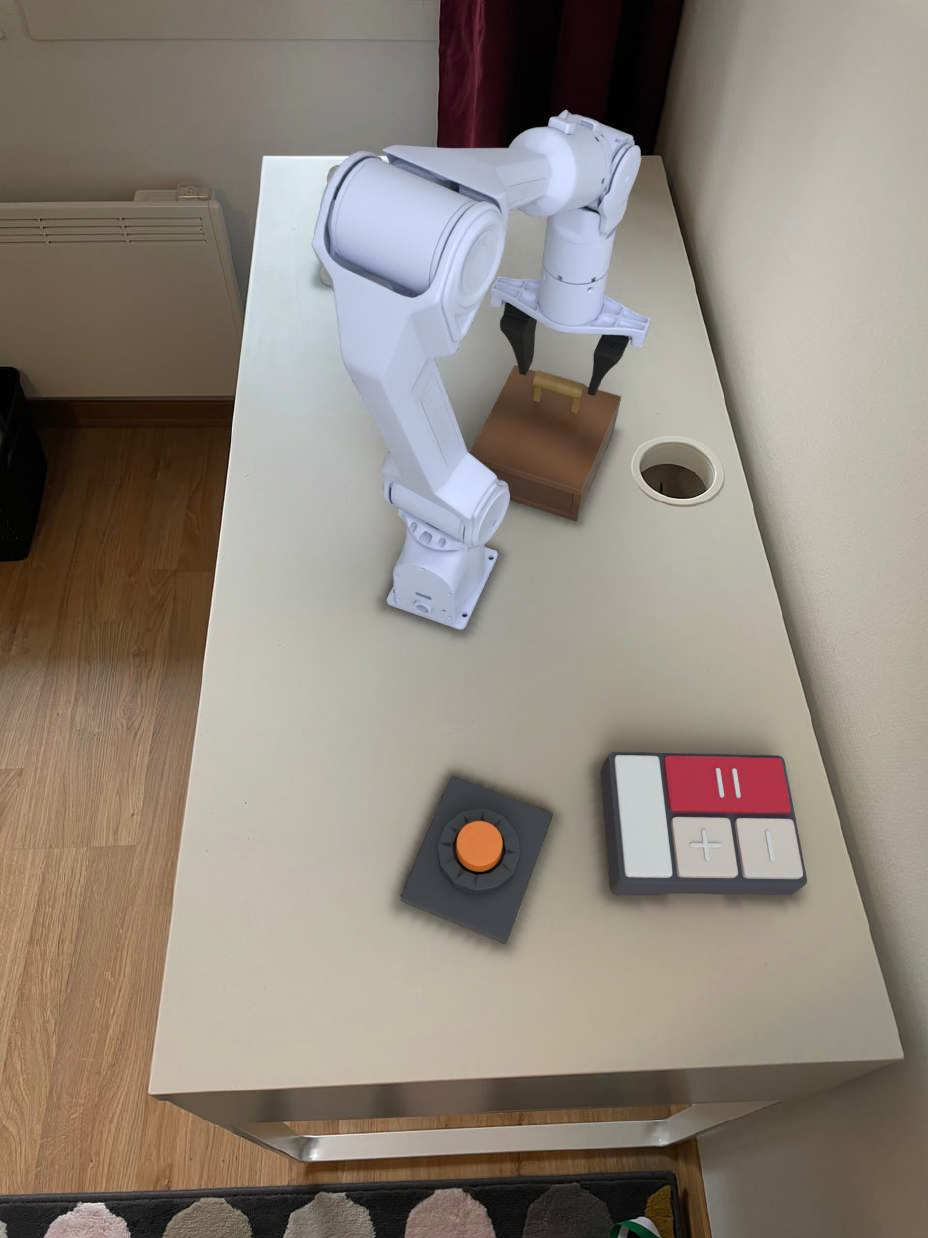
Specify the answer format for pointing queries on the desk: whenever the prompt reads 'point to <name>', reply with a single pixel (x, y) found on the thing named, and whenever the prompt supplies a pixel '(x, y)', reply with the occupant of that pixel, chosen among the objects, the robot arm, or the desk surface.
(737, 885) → the control panel
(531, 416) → the lid
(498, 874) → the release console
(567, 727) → the desk surface
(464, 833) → the button
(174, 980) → the desk surface
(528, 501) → the compartment
